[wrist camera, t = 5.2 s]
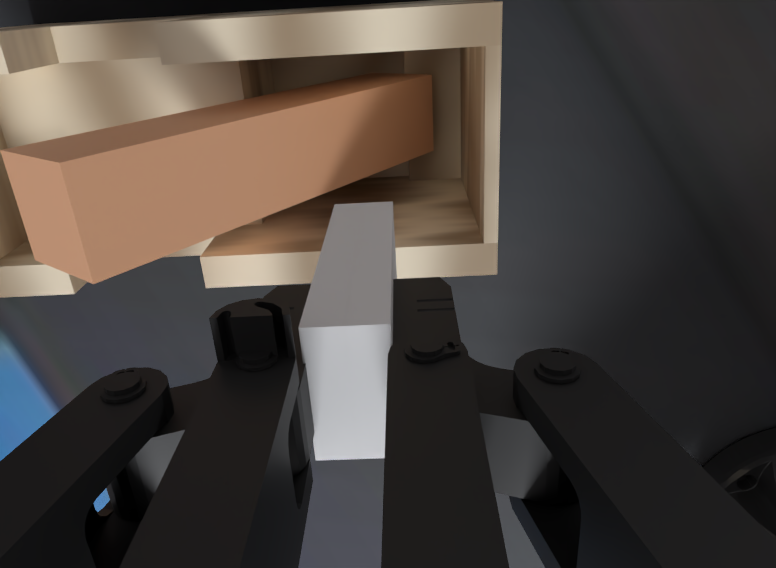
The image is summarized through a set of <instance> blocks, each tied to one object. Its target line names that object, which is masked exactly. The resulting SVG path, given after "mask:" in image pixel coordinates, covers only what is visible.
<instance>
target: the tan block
mask: <svg viewBox="0 0 776 568" xmlns="http://www.w3.org/2000/svg"><path fill="white" fill-rule="evenodd" d="M431 151H434V144H433V104H432V75H429V74H398V73H368V74H363V75H359V76H354V77H349V78H344V79H339V80H335V81H330V82H325V83H320V84H315V85H310V86H306V87H301V88H296V89H291V90H286V91H282V92H277V93H272V94H267V95H262V96H258V97H253V98H248V99H243V100H238V101H234V102H229V103H224V104H219V105H214V106H210V107H205V108H200V109H195V110H190V111H186V112H181V113H176V114H171V115H166V116H162V117H157V118H152V119H147V120H142V121H137V122H133V123H128V124H123V125H118V126H113V127H109V128H104V129H99V130H94V131H89V132H85V133H80V134H75V135H70V136H65V137H61V138H56V139H51V140H46V141H41V142H37V143H32V144H27V145H22V146H17V147H13V148H8V149H3V150H0V152H1V155H2V158H3V161H4V164H5V167H6V171H7V174H8V177H9V180H10V183H11V186H12V189H13V192H14V196H15V199H16V202H17V205H18V208H19V211H20V214H21V218H22V221H23V224H24V227H25V230H26V233H27V236H28V240H29V243H30V246H31V249H32V252H33V255H34V258H35V260H36V261H38V262H41V263H43V264H46V265H48V266H51V267H53V268H55V269H58V270H60V271H63V272H65V273H68V274H70V275H73V276H75V277H77V278H80V279H82V280H85V281H87V282H90V283H92V284H95V283H98V282H100V281H103V280H105V279H108V278H110V277H113V276H115V275H118V274H121V273H123V272H126V271H128V270H131V269H133V268H136V267H138V266H141V265H143V264H146V263H149V262H151V261H154V260H156V259H159V258H161V257H164V256H166V255H169V254H171V253H174V252H177V251H179V250H182V249H184V248H187V247H189V246H192V245H194V244H197V243H199V242H202V241H205V240H207V239H210V238H212V237H215V236H217V235H220V234H222V233H225V232H228V231H230V230H233V229H235V228H238V227H240V226H243V225H245V224H248V223H250V222H253V221H256V220H258V219H261V218H263V217H266V216H268V215H271V214H273V213H276V212H278V211H281V210H284V209H286V208H289V207H291V206H294V205H296V204H299V203H301V202H304V201H306V200H309V199H312V198H314V197H317V196H319V195H322V194H324V193H327V192H329V191H332V190H334V189H337V188H340V187H342V186H345V185H347V184H350V183H352V182H355V181H357V180H360V179H362V178H365V177H368V176H370V175H373V174H375V173H378V172H380V171H383V170H385V169H388V168H391V167H393V166H396V165H398V164H401V163H403V162H406V161H408V160H411V159H413V158H416V157H419V156H421V155H424V154H426V153H429V152H431Z"/></svg>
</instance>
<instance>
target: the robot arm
mask: <svg viewBox="0 0 776 568" xmlns="http://www.w3.org/2000/svg"><path fill="white" fill-rule="evenodd" d="M209 320H210V325H211V330H212V335H213V340H214V345H215V350H216V355H217V360H218V362H217V364H216V367H215V369H214V371H213V373H212V375H211V377H210V378H209V379H206V380H203V381H199V382H196V383H192V384H187V385H183V386H178V387H174V388H170V387H169V383H168V379H167V376H166V375H165V374H164V373H162V372H161V371H160V370H156V369H152V368H127V369H126V370H125V369H122V370H119V371H116V372H114V373H112V374H110V375H107V376H105V377H102V378H101V379H99V380H98V381H96V382H95V383H93V384H91V385H90V386H89V387H87V388H86V389H85V390H84V391H83V392H82V393H80V394H79V395H78V396H77V397H76V398H74V399H73V400H72V401H71V402H70V403H69V404H67V405H66V406H65V407H64V408H63V409H61V410H60V411H59V412H58V413H57V414H56V415H54V416H53V417H52V418H51V419H50V420H48V421H47V422H46V423H45V424H44V425H43V426H41V427H40V428H39V429H38V430H37V431H35V432H34V433H33V434H32V435H31V436H30V437H28V438H27V439H26V440H25V441H24V442H23V443H21V444H20V445H19V446H18V447H17V448H15V449H14V450H13V451H12V452H11V453H10V454H8V455H7V456H6V457H5V458H4V459H2V460H1V461H0V568H298V566H299V560H300V554H301V548H302V542H303V536H304V530H305V524H306V518H307V512H308V506H309V500H310V494H311V488H312V482H313V478H312V470H311V462H310V453H311V448H312V443H314V451H315V458H316V460H343V459H371V458H385V462H384V495H383V529H382V562H381V568H509V564H508V559H507V554H506V549H505V544H504V538H503V533H502V528H501V523H500V518H499V512H498V507H497V502H496V497H495V493H499V494H504V495H509V498H510V502H511V505H512V509H513V510H514V512H515V514H516V516H517V518H518V519H519V521H520V523H521V525H522V527H523V528H524V530H525V532H526V534H527V536H528V537H529V539H530V541H531V543H532V545H533V546H534V548H535V550H536V552H537V554H538V555H539V557H540V559H541V561H542V563H543V564H544V566H545V568H776V428H774V429H769V430H766V431H763V432H760V433H757V434H754V435H752V436H749V437H747V438H745V439H742V440H740V441H738V442H737V443H735V444H733V445H731V446H729V447H728V448H726V449H725V450H723V451H722V452H720V453H719V454H718V455H716V456H715V457H714V458H713V459H711V460H710V461H709V462H708V463H707V464H706V465H705V466H704V467H703V468H702V467H701V466H700V465H699V464H698V463H697V462H696V461H695V460H694V459H693V458H692V457H691V456H690V455H689V454H688V453H687V452H686V451H685V450H684V449H683V448H682V447H681V446H680V445H679V444H678V443H677V442H676V441H675V440H674V439H673V438H672V437H671V436H670V435H669V434H668V433H667V432H666V431H665V430H664V429H663V428H662V427H661V426H660V425H659V424H658V423H657V422H656V421H655V420H654V419H652V418H651V417H650V416H649V415H648V414H647V413H646V412H645V411H644V410H643V409H642V408H641V407H640V406H639V405H638V404H637V403H636V402H635V401H634V400H633V399H632V398H631V397H630V396H629V395H628V394H627V393H626V392H625V391H624V390H623V389H622V388H621V387H620V386H619V385H618V384H617V383H616V382H615V381H614V380H613V379H612V378H611V377H610V376H609V375H608V374H607V373H606V372H605V371H604V370H603V369H602V368H601V367H600V366H599V365H598V364H597V363H595V362H594V361H592V360H591V359H590V358H588V357H587V356H585V355H582V354H579V353H576V352H574V351H571V350H567V349H560V348H550V349H538V350H535V351H531V352H528V353H525V354H524V355H523V356H521V357H520V358H519V359H517V360H516V363H515V366H514V370H507V369H500V368H496V367H491V366H487V365H484V364H482V363H479V362H477V361H475V360H474V359H472V358H470V357H469V356H468V351H467V349H466V347H465V346H464V344H463V343H462V342H461V340H460V334H459V329H458V323H457V318H456V313H455V307H454V302H453V296H452V291H451V286H449V285H448V284H447V283H446V282H445V281H444V280H442V279H441V278H440V277H426V278H404V279H397V269H396V251H395V233H394V214H393V201H391V202H371V203H351V204H335V205H334V208H333V212H332V215H331V218H330V222H329V225H328V229H327V232H326V235H325V239H324V242H323V246H322V249H321V252H320V256H319V259H318V263H317V266H316V270H315V273H314V276H313V280H312V283H311V284H310V285H288V286H277V287H276V288H275V289H273V290H272V291H271V292H270V293H268V294H267V295H266V296H264V298H263V299H260V298H257V299H249V300H242V301H239V302H235V303H232V304H229V305H226V306H225V307H223V308H221V309H219V310H217V311H216V312H215V313H214V314H213V315H212V316H211V317H210V318H209ZM105 488H107V491H108V495H109V498H110V501H109V502H108V503H107V504H106V506H105V507H104V508H103V509H101V510H100V511H99V512H97V511H96V510H95V507H94V504H93V503H94V501H95V500H96V498H97V497H98V496H99V495H100V494H101V493H102V492H103V491H104V489H105Z"/></svg>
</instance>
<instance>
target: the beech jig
mask: <svg viewBox="0 0 776 568" xmlns="http://www.w3.org/2000/svg"><path fill="white" fill-rule="evenodd" d="M501 50H502V2H500V1H491V0H428V1H411V2H395V3H379V4H362V5H346V6H330V7H313V8H297V9H280V10H264V11H248V12H231V13H215V14H198V15H182V16H166V17H149V18H133V19H116V20H100V21H84V22H67V23H51V24H34V25H23V26H13V27H2V28H0V150H3V149H8V148H13V147H17V146H22V145H27V144H32V143H37V142H41V141H46V140H51V139H56V138H61V137H65V136H70V135H75V134H80V133H85V132H89V131H94V130H99V129H104V128H109V127H113V126H118V125H123V124H128V123H133V122H137V121H142V120H147V119H152V118H157V117H162V116H166V115H171V114H176V113H181V112H186V111H190V110H195V109H200V108H205V107H210V106H214V105H219V104H224V103H229V102H234V101H238V100H243V99H248V98H253V97H258V96H262V95H267V94H272V93H277V92H282V91H286V90H291V89H296V88H301V87H306V86H310V85H315V84H320V83H325V82H330V81H335V80H339V79H344V78H349V77H354V76H359V75H363V74H368V73H398V74H429V75H432V104H433V144H434V151H431V152H429V153H426V154H424V155H421V156H419V157H416V158H413V159H411V160H408V161H406V162H403V163H401V164H398V165H396V166H393V167H391V168H388V169H385V170H383V171H380V172H378V173H375V174H373V175H370V176H368V177H365V178H362V179H360V180H357V181H355V182H352V183H350V184H347V185H345V186H342V187H340V188H337V189H334V190H332V191H329V192H327V193H324V194H322V195H319V196H317V197H314V198H312V199H309V200H306V201H304V202H301V203H299V204H296V205H294V206H291V207H289V208H286V209H284V210H281V211H278V212H276V213H273V214H271V215H268V216H266V217H263V218H261V219H258V220H256V221H253V222H250V223H248V224H245V225H243V226H240V227H238V228H235V229H233V230H230V231H228V232H225V233H222V234H220V235H217V236H215V237H212V238H210V239H207V240H205V241H202V242H199V243H197V244H194V245H192V246H189V247H187V248H184V249H182V250H179V251H177V252H174V253H171V254H169V255H166V256H164V257H175V256H196V255H201V256H200V260H201V265H202V270H203V276H204V281H205V286H206V288H216V287H237V286H259V285H281V284H302V283H312V280H313V276H314V273H315V270H316V266H317V263H318V259H319V256H320V252H321V249H322V246H323V242H324V239H325V235H326V232H327V229H328V225H329V222H330V218H331V215H332V212H333V208H334V205H335V204H351V203H371V202H391V201H393V214H394V233H395V251H396V269H397V279H404V278H426V277H454V276H475V275H497V255H498V204H499V152H500V101H501ZM86 283H87V281H85V280H82V279H80V278H77V277H75V276H73V275H70V274H68V273H65V272H63V271H60V270H58V269H55V268H53V267H51V266H48V265H46V264H43V263H41V262H38V261H36V260H35V258H34V255H33V252H32V249H31V246H30V243H29V240H28V236H27V233H26V230H25V227H24V224H23V221H22V218H21V214H20V211H19V208H18V205H17V202H16V199H15V196H14V192H13V189H12V186H11V183H10V180H9V177H8V174H7V171H6V167H5V164H4V161H3V158H2V155H1V152H0V297H21V296H43V295H64V294H75V293H76V292H77V291H78V290H79V289H80V288H81V287H83V286H84V285H85V284H86Z"/></svg>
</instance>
